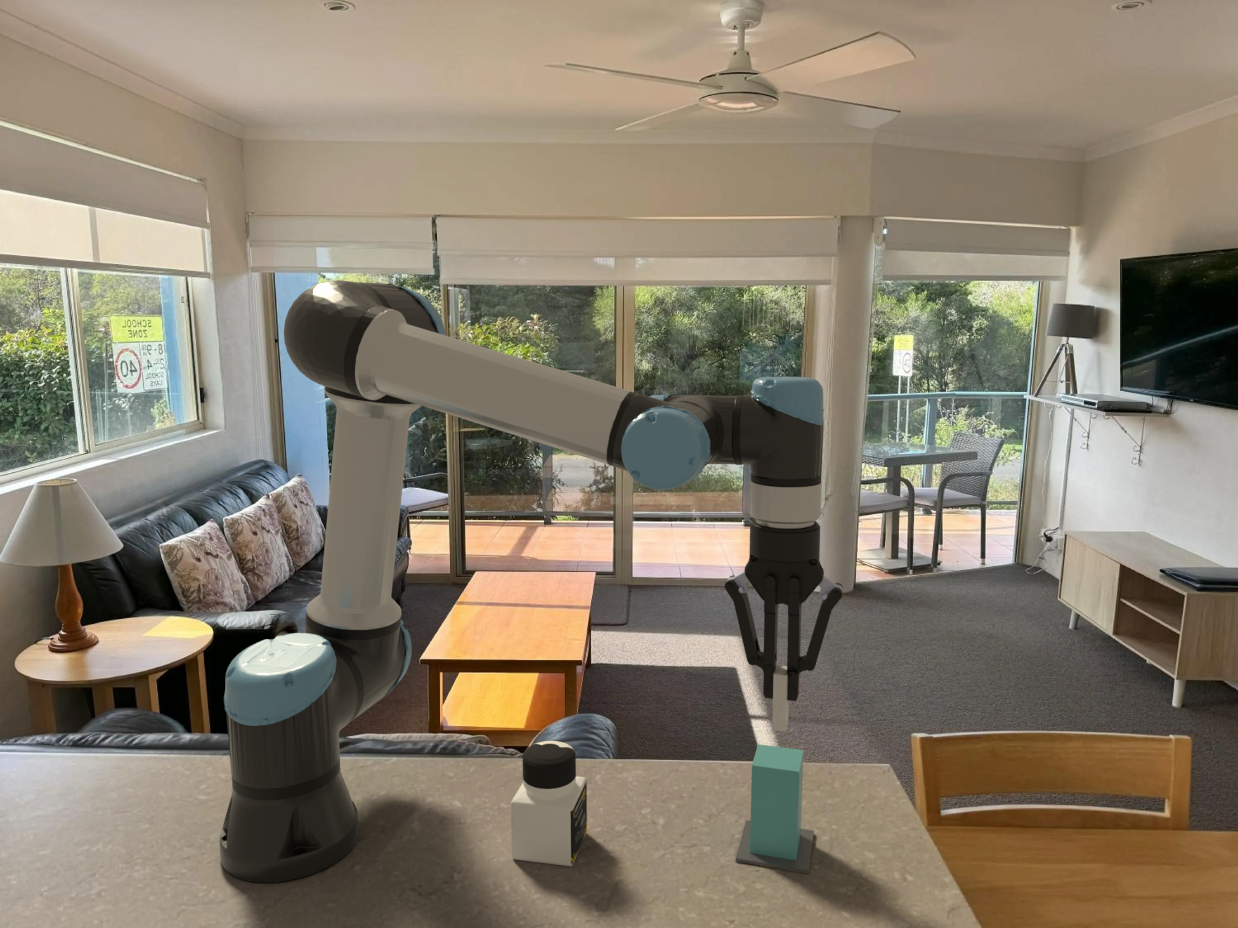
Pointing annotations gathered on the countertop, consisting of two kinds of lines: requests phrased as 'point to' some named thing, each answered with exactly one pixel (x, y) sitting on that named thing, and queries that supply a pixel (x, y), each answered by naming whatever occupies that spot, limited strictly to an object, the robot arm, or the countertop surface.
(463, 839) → the countertop surface
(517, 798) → the medicine bottle
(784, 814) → the tall teal pillar
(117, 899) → the countertop surface
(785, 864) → the grey square base plate
